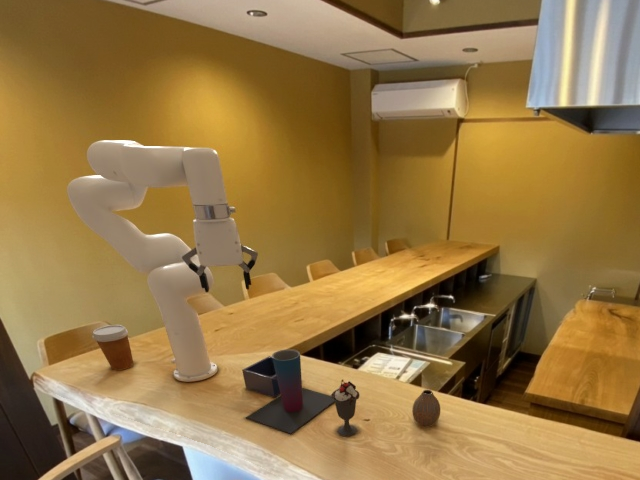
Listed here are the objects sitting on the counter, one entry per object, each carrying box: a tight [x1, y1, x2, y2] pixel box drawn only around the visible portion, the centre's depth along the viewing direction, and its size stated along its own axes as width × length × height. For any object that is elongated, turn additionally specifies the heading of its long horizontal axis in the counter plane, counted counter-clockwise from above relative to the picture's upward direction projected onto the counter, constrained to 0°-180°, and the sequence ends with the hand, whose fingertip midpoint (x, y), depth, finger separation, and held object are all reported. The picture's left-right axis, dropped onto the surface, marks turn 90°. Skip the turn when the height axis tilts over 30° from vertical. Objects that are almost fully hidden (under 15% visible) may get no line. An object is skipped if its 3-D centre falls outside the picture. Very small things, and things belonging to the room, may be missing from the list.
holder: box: [241, 355, 281, 399], centre depth 121 cm, size 11×11×6 cm
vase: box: [411, 389, 441, 428], centre depth 103 cm, size 7×7×9 cm
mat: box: [245, 387, 335, 435], centre depth 112 cm, size 15×20×1 cm
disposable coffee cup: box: [92, 324, 135, 371], centre depth 131 cm, size 10×10×12 cm
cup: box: [271, 348, 303, 412], centre depth 107 cm, size 7×7×15 cm
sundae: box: [330, 379, 360, 438], centre depth 98 cm, size 7×7×15 cm
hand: (227, 289), depth 105 cm, fingers open, 9 cm apart
